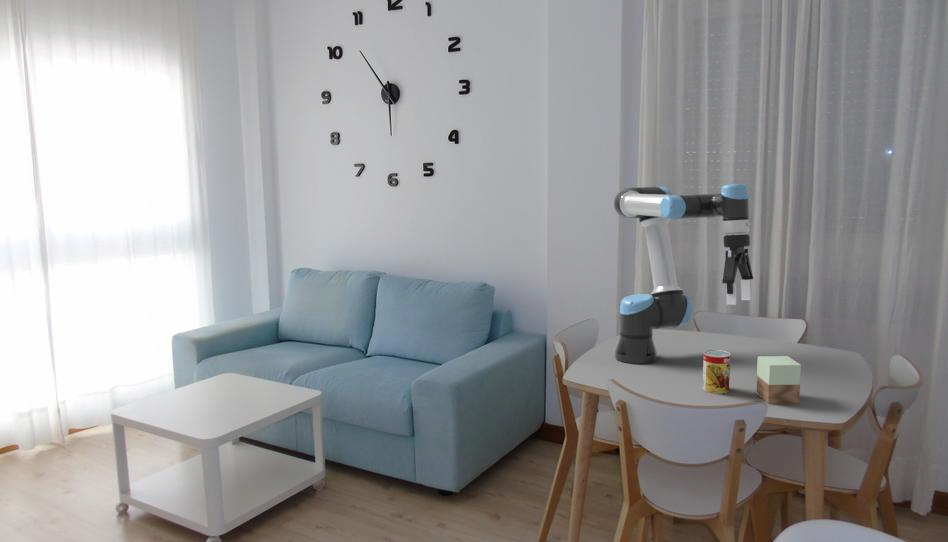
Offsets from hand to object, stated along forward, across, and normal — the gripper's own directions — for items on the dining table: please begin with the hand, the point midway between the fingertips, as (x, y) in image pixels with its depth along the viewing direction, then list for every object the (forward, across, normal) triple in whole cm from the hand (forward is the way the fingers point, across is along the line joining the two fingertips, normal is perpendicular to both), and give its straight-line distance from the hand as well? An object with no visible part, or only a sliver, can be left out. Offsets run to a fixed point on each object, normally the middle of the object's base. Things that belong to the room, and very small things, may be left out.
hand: (739, 302), depth 200 cm
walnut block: (+29, 0, -10) cm, 31 cm away
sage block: (+23, 0, -11) cm, 26 cm away
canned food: (+28, -4, +7) cm, 29 cm away
